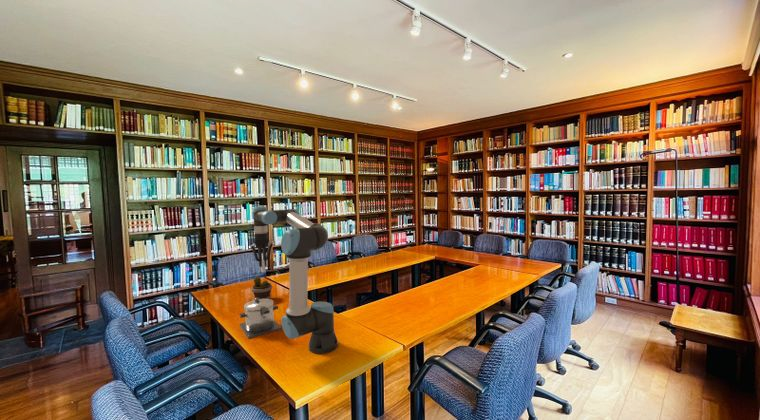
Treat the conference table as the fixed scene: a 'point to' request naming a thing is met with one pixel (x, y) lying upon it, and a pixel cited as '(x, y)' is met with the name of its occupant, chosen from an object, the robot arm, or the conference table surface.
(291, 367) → the conference table surface
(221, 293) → the conference table surface
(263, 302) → the lid
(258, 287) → the flowerpot
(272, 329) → the cooker
